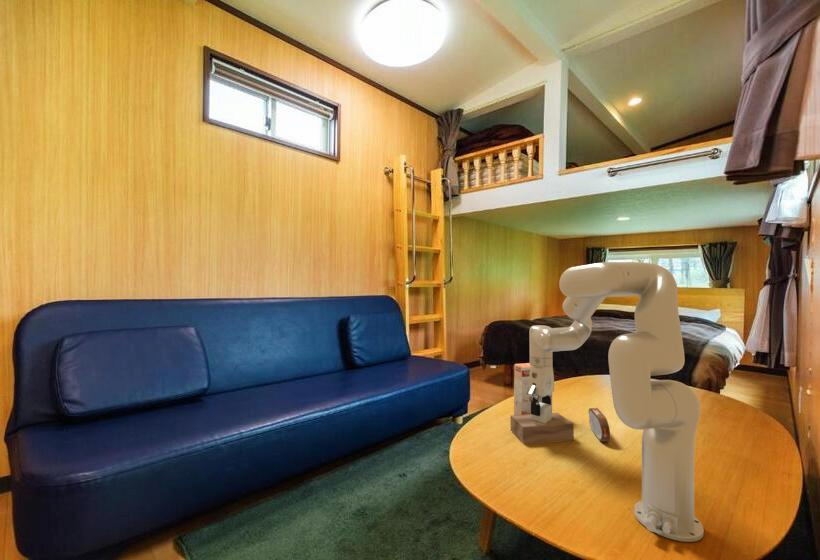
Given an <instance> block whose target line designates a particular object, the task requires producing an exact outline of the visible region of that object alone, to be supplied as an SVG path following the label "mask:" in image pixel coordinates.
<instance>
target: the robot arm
mask: <svg viewBox="0 0 820 560" xmlns="http://www.w3.org/2000/svg"><path fill="white" fill-rule="evenodd" d="M558 283H559V285H558V286H559V291H561V293H562V294H563V295H564V296H565V297H566V298H565V299H564V301H563V303H562V311H563V312H564V313H565V314H566V315H567V316H568V318H569V319H571V320H573V322H572V324H571V325H570V326H567V327H566V326H565V327H551V326H548V325H539V324H538V325H535V324H534V325H532V326H530V328H529V336H528V337H529V339H528V340H529V363H530V366H531V367H530V376H529V393H528V396H529V400H530V403H531V414H532V415H536V416H540V404H539V402H540V398H541V397H542V403H545V404H549V405H551V399H550V398H551V397H552V398H553V393H554V391H555V377H554V374H555V373H554V367H552V366H553V361H554V360H553V352H562V351H563V352H565V351H574V350H577V349H579V348H580V347H581V346H583V344H584V343H586V341H587V340H588V338H589V337H590V336H591V334H592V330H593V321H592V318H591V317H592V316H593V315H594V313H595V312H596V311H597V310H598V308H599V307H600V306H601V304H602V303H603V302H604V300H605V299H606V298H616V297H617V298H618V297H619V298H621V297H623V298H624V297H638V298H639V300H638V301H637V303H636V306H635V309H634V317H633V318H634V322H635V323H634V324H635V332H631V333H630V332H629V333H624V334H620V335H618V336H616V338H614V339H613V340H612V341H611V343H610V346H609V349H608V353H607V354H608V355H607V357H608V358H607V359H608V369H609V370H608V371H609V378H610V379H609V380H610V386H611V387H610V388H611V389H610V390H611V397H612V403H613V408H614V410H615V413H616V415H617V417H618V419H620V421H621V422H622V423H623V424H624V425H626V426H627V427H629V428H631V429H634V430H638V431H639V430H640V431H641V430H642V431H643V432H642V435H641V500H639V501H637V502H635V504H634V506H633V513H634V516H635V518H636V519H637V520H638V521H639V522H640V524H641V525H642V526H644V527H645V528H646V529H647V530H648V531H650V532H652V533H656V534H657V535H659V536H662V537H663V538H667V539H670V540H673V541H678V542H685V543H693V542H697V541H700V540H702V538H703V537H704V534H705V531H704V530H705V529H704V526H703V524H702V522H701V521H700V520H699V519H698V518H697V517H696V516H695V447H696V446H695V444H696V443H695V442H696V441H695V440H696V433H697V428H698V424H699V419H700V414H701V405H700V401H699V398H698V396H697V394H696V393H695V392H694V390H693V389H692V388H691V387H690V386H688V385H686V384H685V383H683V382H681V381H678V380H672V379H659V380H651V376H653V377H654V376H662V375H669V374H670V375H671V374H674V373H677V372H679V371H680V370H682V369H683V367H684V365H685V361H686V359H685V357H686V356H685V349H684V342H683V335H682V328H681V327H682V326H681V321H680V315H679V314H680V313H679V293H678V285H677V281H676V279H675V277H674V276H673V274H672V273H671V272H670V270H668V269H666V268H665V267H663V266H661V265H658V264H654V263H650V262H642V261H621V262H619V261H607V262H606V261H602V262H601V261H600V262H596V263H595V262H593V263H590V264H584V265H577V266H571V267H568V268H567V269H565V270H564V272H563V273H562V274H561V275H560V278H559V282H558ZM535 393H538V395H537V394H535ZM551 393H552V395H551ZM534 396H535V397H537V400H536V398H535V397H534Z"/></svg>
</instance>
